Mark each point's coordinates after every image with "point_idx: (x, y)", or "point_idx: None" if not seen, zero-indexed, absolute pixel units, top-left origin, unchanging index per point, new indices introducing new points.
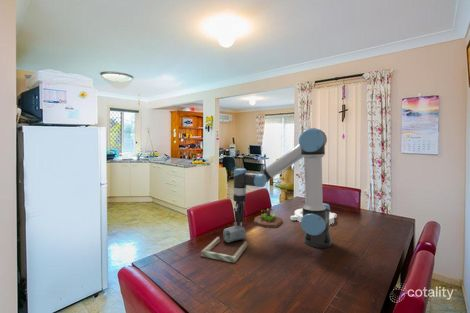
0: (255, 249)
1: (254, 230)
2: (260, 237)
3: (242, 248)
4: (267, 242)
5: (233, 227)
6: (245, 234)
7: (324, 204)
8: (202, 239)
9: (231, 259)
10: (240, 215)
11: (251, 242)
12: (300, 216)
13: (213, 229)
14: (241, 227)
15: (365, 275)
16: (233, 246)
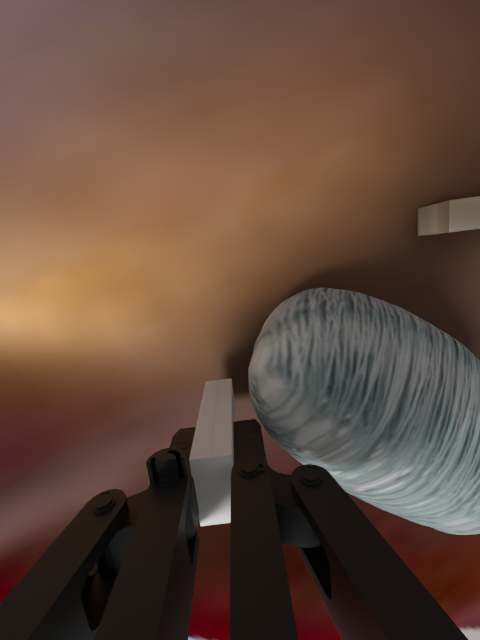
0: (455, 98)
1: (9, 310)
2: (148, 171)
3: None
4: (234, 38)
5: (466, 459)
6: (314, 291)
7: None
8: (434, 583)
9: None
10: (268, 616)
11: (316, 207)
12: None
13: (216, 619)
14: (371, 366)
15: None
16: (467, 321)
